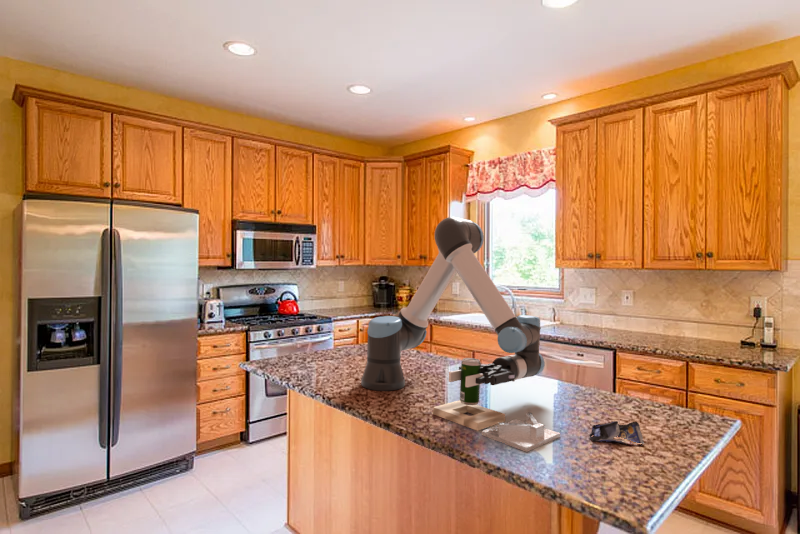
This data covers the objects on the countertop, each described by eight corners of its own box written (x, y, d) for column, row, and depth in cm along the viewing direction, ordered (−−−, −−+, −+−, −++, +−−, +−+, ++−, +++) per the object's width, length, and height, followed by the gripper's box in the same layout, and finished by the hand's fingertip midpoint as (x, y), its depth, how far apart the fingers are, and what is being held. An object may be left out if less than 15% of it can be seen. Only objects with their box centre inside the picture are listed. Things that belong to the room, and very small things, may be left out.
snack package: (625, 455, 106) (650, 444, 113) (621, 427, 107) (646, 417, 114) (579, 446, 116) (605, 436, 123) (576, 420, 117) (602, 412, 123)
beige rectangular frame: (432, 414, 130) (433, 407, 130) (460, 406, 138) (460, 399, 138) (477, 430, 118) (477, 423, 118) (505, 421, 126) (505, 413, 126)
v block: (481, 435, 115) (482, 419, 115) (516, 422, 125) (516, 408, 125) (526, 452, 105) (527, 434, 105) (560, 437, 115) (560, 421, 115)
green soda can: (468, 406, 124) (470, 362, 124) (455, 401, 128) (457, 358, 128) (483, 403, 127) (485, 361, 127) (469, 398, 131) (471, 357, 131)
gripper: (534, 388, 133) (484, 402, 117) (483, 374, 146) (433, 385, 131) (535, 362, 133) (485, 373, 117) (484, 351, 146) (434, 359, 131)
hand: (458, 379), depth 124 cm, fingers closed on green soda can, 5 cm apart
